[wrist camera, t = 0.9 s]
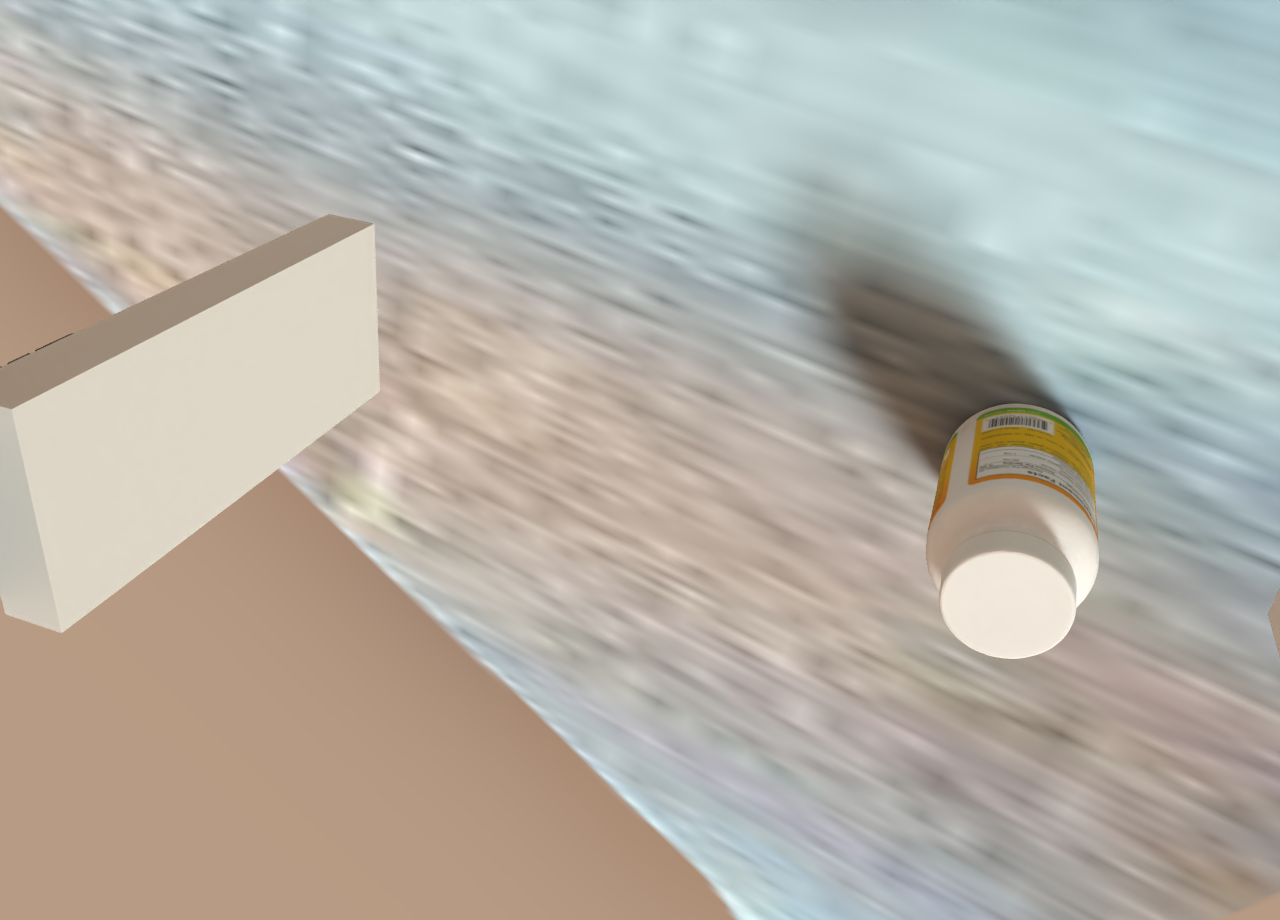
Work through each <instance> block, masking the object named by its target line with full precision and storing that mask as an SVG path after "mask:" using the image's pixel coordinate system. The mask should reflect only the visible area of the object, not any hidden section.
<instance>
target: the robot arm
mask: <svg viewBox="0 0 1280 920" xmlns="http://www.w3.org/2000/svg"><path fill="white" fill-rule="evenodd" d="M378 392H380V381H379V351H378V321H377V291H376V261H375V231H374V224H373V223H368V222H363V221H359V220H354V219H349V218H344V217H339V216H335V215H330V214H328V215H326V216H324V217H322V218H320V219H318V220H315V221H313V222H311V223H309V224H307V225H305V226H303V227H300V228H298V229H296V230H294V231H292V232H290V233H288V234H285V235H283V236H281V237H279V238H277V239H275V240H273V241H270V242H268V243H266V244H264V245H262V246H260V247H258V248H255V249H253V250H251V251H249V252H247V253H245V254H243V255H240V256H238V257H236V258H234V259H232V260H230V261H228V262H225V263H223V264H221V265H219V266H217V267H215V268H213V269H211V270H208V271H206V272H204V273H202V274H200V275H198V276H196V277H193V278H191V279H189V280H187V281H185V282H183V283H181V284H178V285H176V286H174V287H172V288H170V289H168V290H166V291H163V292H161V293H159V294H157V295H155V296H153V297H151V298H148V299H146V300H144V301H142V302H140V303H138V304H136V305H133V306H131V307H129V308H127V309H125V310H123V311H121V312H118V313H116V314H114V315H112V316H110V317H108V318H106V319H104V320H101V321H99V322H97V323H95V324H93V325H91V326H89V327H87V328H84V329H82V330H80V331H78V332H76V333H72V334H69V335H67V336H65V337H63V338H60V339H58V340H56V341H54V342H52V343H50V344H48V345H45V346H43V347H41V348H39V349H37V350H35V352H33V353H31V354H30V353H28V354H26V355H24V356H22V357H20V358H17V359H15V360H13V361H11V362H9V363H8V364H7V365H5V366H3V367H0V595H1V599H2V603H3V607H4V611H5V614H7V615H9V616H12V617H16V618H18V619H21V620H24V621H27V622H30V623H33V624H36V625H39V626H42V627H45V628H48V629H51V630H54V631H57V632H60V633H62V632H64V631H65V630H66V629H68V628H69V627H70V626H72V625H73V624H74V623H75V622H77V621H78V620H80V619H81V618H82V617H84V616H85V615H86V614H87V613H89V612H90V611H91V610H93V609H94V608H95V607H97V606H98V605H99V604H100V603H102V602H103V601H105V600H106V599H107V598H108V597H110V596H111V595H112V594H114V593H115V592H116V591H118V590H119V589H120V588H122V587H123V586H124V585H126V584H127V583H128V582H129V581H131V580H132V579H133V578H135V577H136V576H137V575H139V574H140V573H141V572H143V571H144V570H145V569H147V568H148V567H149V566H151V565H152V564H153V563H155V562H156V561H157V560H159V559H160V558H161V557H163V556H164V555H165V554H166V553H168V552H169V551H170V550H172V549H173V548H174V547H176V546H177V545H178V544H179V543H181V542H182V541H183V540H185V539H186V538H187V537H189V536H190V535H191V534H193V533H194V532H195V531H197V530H198V529H199V528H200V527H202V526H203V525H205V524H206V523H207V522H209V521H210V520H211V519H213V518H214V517H215V516H216V515H218V514H219V513H220V512H222V511H223V510H224V509H226V508H227V507H228V506H229V505H231V504H232V503H233V502H235V501H236V500H237V499H239V498H240V497H241V496H243V495H244V494H245V493H247V492H248V491H249V490H251V489H252V488H253V487H255V486H256V485H257V484H258V483H260V482H261V481H262V480H264V479H265V478H266V477H268V476H269V475H270V474H272V473H273V472H274V471H276V470H277V469H278V468H280V467H281V466H282V465H284V464H285V463H286V462H288V461H289V460H290V459H291V458H293V457H294V456H295V455H297V454H298V453H299V452H301V451H302V450H303V449H305V448H306V447H307V446H309V445H310V444H311V443H313V442H314V441H315V440H316V439H318V438H319V437H320V436H322V435H323V434H324V433H326V432H327V431H328V430H330V429H331V428H332V427H334V426H335V425H336V424H338V423H339V422H340V421H341V420H343V419H344V418H345V417H347V416H348V415H349V414H351V413H352V412H353V411H355V410H356V409H357V408H359V407H360V406H361V405H363V404H364V403H365V402H366V401H368V400H369V399H370V398H372V397H373V396H374V395H376V394H377V393H378ZM1268 616H1269V619H1270V623H1271V627H1272V630H1273V634H1274V638H1275V642H1276V645H1277V649H1278V653H1279V656H1280V589H1279V591H1278V593H1277V596H1276V598H1275V600H1274V602H1273V604H1272V606H1271V608H1270V610H1269V612H1268Z"/></svg>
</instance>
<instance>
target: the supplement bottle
mask: <svg viewBox="0 0 1280 920" xmlns="http://www.w3.org/2000/svg"><path fill="white" fill-rule="evenodd" d="M926 560H927V566H928V570H929V574H930V576H931V578H932V581H933V583H934V584H935V586H936V588H937V589H938V591H939V605H940V609H941V613H942V616H943V619H944V621H945V623H946V624H947V626H948V627H949V629H950V630H951V632H952V633H953V634H954V635H955V636H956V637H957V638H958V639H959V640H960V641H962V642H963V643H964V644H965V645H967V646H968V647H970V648H972V649H974V650H976V651H978V652H981V653H983V654H986V655H989V656H994V657H999V658H1010V659H1015V658H1025V657H1030V656H1034V655H1038V654H1040V653H1042V652H1045V651H1047V650H1049V649H1050V648H1052V647H1054V646H1055V645H1056V644H1057V643H1059V642H1060V641H1061V640H1062V639H1063V638H1064V637H1065V636H1066V634H1067V633H1068V631H1069V630H1070V628H1071V626H1072V624H1073V621H1074V618H1075V614H1076V607H1078V606H1079V605H1080V603H1081V602H1082V601H1083V600H1084V599H1085V598H1086V596H1087V595H1088V593H1089V592H1090V590H1091V588H1092V586H1093V584H1094V581H1095V579H1096V575H1097V571H1098V564H1099V547H1098V533H1097V518H1096V501H1095V483H1094V469H1093V462H1092V458H1091V454H1090V451H1089V448H1088V446H1087V444H1086V442H1085V440H1084V439H1083V437H1082V436H1081V434H1080V433H1079V432H1078V430H1077V429H1076V428H1075V427H1074V426H1073V425H1072V424H1071V423H1070V422H1069V421H1067V420H1066V419H1065V418H1063V417H1062V416H1060V415H1058V414H1056V413H1054V412H1052V411H1050V410H1047V409H1045V408H1042V407H1038V406H1034V405H1029V404H1004V405H998V406H994V407H991V408H988V409H985V410H983V411H981V412H978V413H977V414H975V415H973V416H972V417H970V418H969V419H967V420H966V421H965V422H964V423H963V424H962V425H961V426H960V427H959V428H958V429H957V430H956V431H955V433H954V434H953V436H952V437H951V439H950V440H949V442H948V445H947V447H946V450H945V453H944V457H943V460H942V465H941V470H940V476H939V481H938V486H937V491H936V496H935V501H934V505H933V510H932V515H931V519H930V525H929V528H928V534H927V544H926Z"/></svg>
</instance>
